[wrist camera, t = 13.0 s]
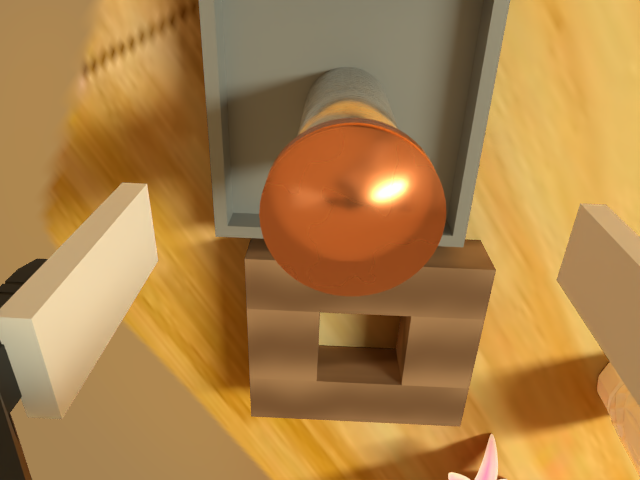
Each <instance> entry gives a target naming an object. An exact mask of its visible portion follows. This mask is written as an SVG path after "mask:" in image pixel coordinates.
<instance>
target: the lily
mask: <svg viewBox="0 0 640 480" xmlns="http://www.w3.org/2000/svg"><path fill="white" fill-rule="evenodd" d="M497 475H498V459H497V449H496V443H495V439H494V436H493V435H492V434H491V435H490V437H489V441H488V444H487V448H486V451H485V455H484V458H483V461H482V464H481V467H480V469H479V471H478V474H477V476H476V478H475V480H496V479H497ZM448 479H449V480H470V479H469V478H467V477H466V476H463V475H461V474H458V473H453V472H450V473H449V474H448ZM500 480H507V479H500Z"/></svg>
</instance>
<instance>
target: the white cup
mask: <svg viewBox="0 0 640 480" xmlns="http://www.w3.org/2000/svg"><path fill="white" fill-rule="evenodd" d="M597 392H598V394H599V396H600V398H601V400H602V401H603V403H604V405H605V407H606V409H607V411H608V413H609V415H610V417H611V422H612V424H613V426H614V428H615V430H616V432H617V434H618V436H619V439H620V440H621V442H622V444H623V446H624V448H625V450H626V452H627V453H628V455H629V457H630V459H631V461H632V463H633V465H634V467H635V469H636V471H637V472H638V474H639V476H640V407H639V405H638V404H637V402H636V401H635V399H634V398H633V396H632V395H631V393H630V392H629V390H628V389H627V387H626V386H625V384H624V382H623V381H622V379H621V378H620V376H619V375H618V373H617V372H616V370H615V369H614V367H613V366H612V364H611V363H610V362H609V363H608V364H607V366H606V367H605V368H604V370H603V371H602V372H601V374H600V375H599V377H598V384H597Z"/></svg>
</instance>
